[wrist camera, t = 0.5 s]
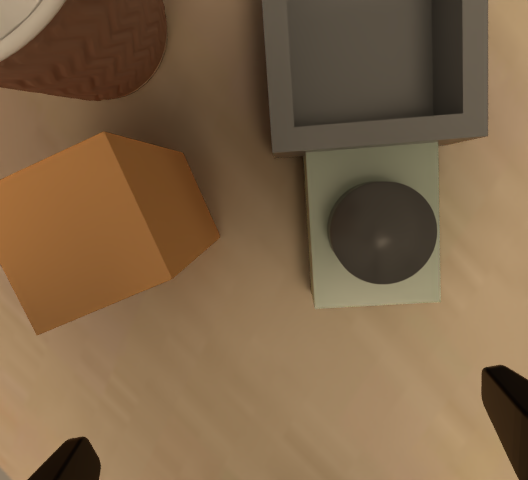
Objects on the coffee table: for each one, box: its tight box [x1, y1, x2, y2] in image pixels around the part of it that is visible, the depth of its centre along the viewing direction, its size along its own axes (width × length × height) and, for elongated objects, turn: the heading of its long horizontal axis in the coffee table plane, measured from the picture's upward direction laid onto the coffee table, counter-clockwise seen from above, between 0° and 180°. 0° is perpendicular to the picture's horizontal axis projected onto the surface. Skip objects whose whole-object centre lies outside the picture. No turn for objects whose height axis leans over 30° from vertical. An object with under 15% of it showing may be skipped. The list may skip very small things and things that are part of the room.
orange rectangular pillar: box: [0, 132, 220, 335], centre depth 18 cm, size 5×5×10 cm
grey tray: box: [262, 0, 488, 309], centre depth 20 cm, size 16×9×5 cm, turn 4°
